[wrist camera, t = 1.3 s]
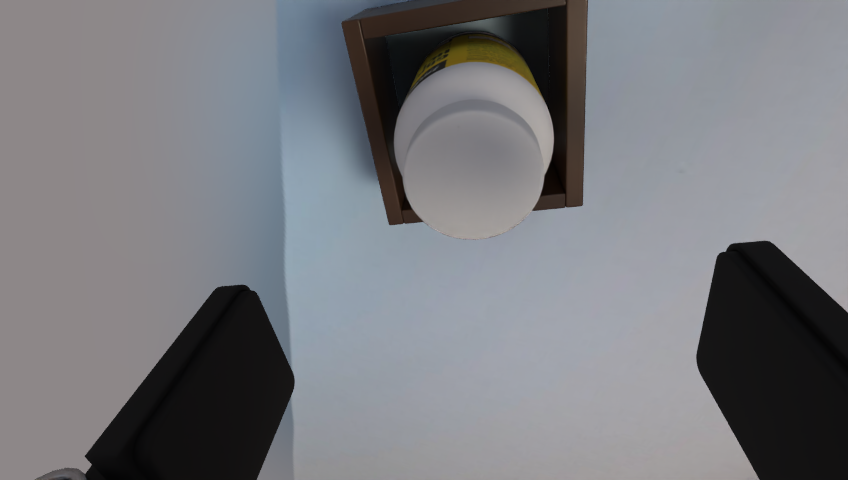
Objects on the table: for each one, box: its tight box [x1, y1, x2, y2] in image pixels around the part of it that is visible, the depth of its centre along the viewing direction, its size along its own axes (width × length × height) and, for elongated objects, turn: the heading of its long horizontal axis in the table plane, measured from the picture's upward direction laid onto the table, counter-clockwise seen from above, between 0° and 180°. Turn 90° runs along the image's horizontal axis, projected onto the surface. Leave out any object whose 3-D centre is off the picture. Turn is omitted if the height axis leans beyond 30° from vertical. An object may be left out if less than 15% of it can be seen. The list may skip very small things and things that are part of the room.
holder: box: [341, 0, 588, 225], centre depth 22 cm, size 10×10×5 cm
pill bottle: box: [394, 32, 554, 240], centre depth 19 cm, size 6×6×11 cm
